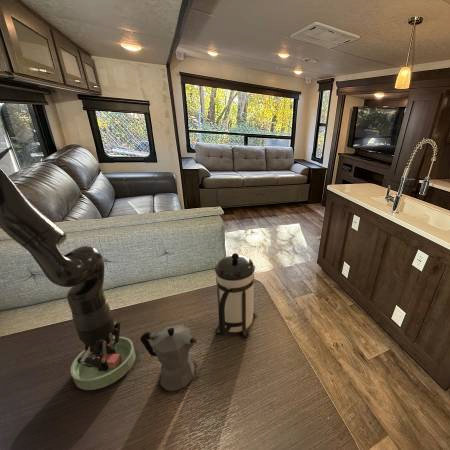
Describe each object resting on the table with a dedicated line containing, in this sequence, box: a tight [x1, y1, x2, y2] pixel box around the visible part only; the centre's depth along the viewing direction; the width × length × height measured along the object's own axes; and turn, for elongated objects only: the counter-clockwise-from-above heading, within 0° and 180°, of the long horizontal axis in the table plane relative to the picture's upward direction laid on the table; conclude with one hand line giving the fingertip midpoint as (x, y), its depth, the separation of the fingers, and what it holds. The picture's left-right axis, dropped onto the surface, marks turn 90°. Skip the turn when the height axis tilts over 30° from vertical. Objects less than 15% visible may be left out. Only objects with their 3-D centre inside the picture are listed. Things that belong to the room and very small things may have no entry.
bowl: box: [70, 336, 137, 391], centre depth 71 cm, size 14×14×4 cm
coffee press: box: [214, 252, 256, 338], centre depth 84 cm, size 17×16×30 cm
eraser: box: [94, 354, 122, 370], centre depth 71 cm, size 6×3×3 cm, turn 92°
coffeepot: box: [140, 324, 198, 392], centre depth 68 cm, size 15×9×18 cm, turn 86°
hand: (108, 364), depth 72 cm, fingers closed on eraser, 2 cm apart
